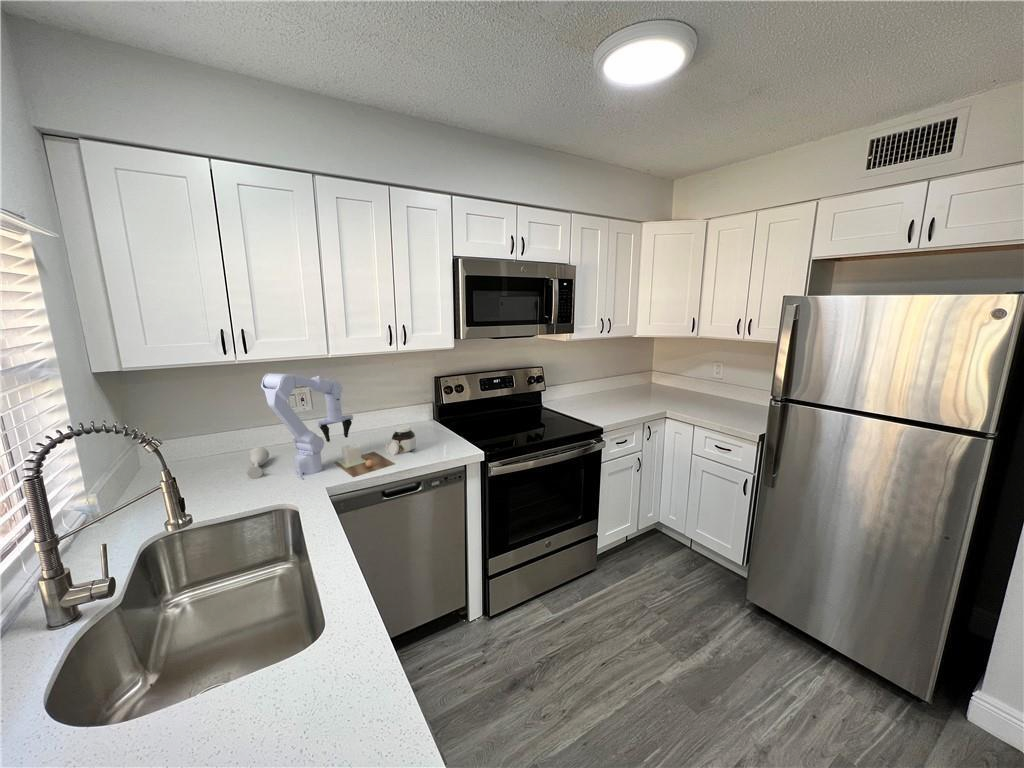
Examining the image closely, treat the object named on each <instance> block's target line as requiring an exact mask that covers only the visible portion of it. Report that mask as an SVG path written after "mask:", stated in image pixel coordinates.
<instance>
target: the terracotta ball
mask: <svg viewBox="0 0 1024 768" xmlns="http://www.w3.org/2000/svg"><path fill="white" fill-rule="evenodd" d="M366 466H367V467H371V466H373V461H372V460H367V461H366Z"/></svg>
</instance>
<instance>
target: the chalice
mask: <svg viewBox="0 0 1024 768" xmlns="http://www.w3.org/2000/svg"><path fill="white" fill-rule="evenodd" d="M269 458H270V452H269V451H268V449H267V448H265V447H260V446H258V447H254V448H253V449H251V450H250V451H249V462H250V463H251V465H252V467H249V468H248V470H247V473H246V474H247V476H248V477H249V479H250V478H251V479H253V480H254V479H259V478H260V477H261V476H262V475H263V469H262V468H261V466H263V465H264V464H265V463H266V462H267V460H268V459H269Z"/></svg>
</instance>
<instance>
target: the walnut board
mask: <svg viewBox="0 0 1024 768" xmlns="http://www.w3.org/2000/svg"><path fill="white" fill-rule="evenodd" d="M361 458H363V459H364V460H366V461H367V460H372V461H373V466H371V467H367V466H366V463H362V464H359V465H356V466H352V467H349V468H345V467H344V466H342V465H341V464H340V463H338V462H337V461H335V462H333V464H334V465H336V466H337V467H338V468H340V469H341V470H343V472H346V473H347V474H348V475H350V476H351V477H352V478H356V477H360V476H362V475H365V474H369V473H371V472H375V471H379V470H381V469H385V468H388V467H392V466H394V465H396V463H395V462H393V461H392V460H390V459H388V458H386V457H385V456H382V455H381V454H379V453H378V452H376V451H371V452H367V453H363V454H361Z"/></svg>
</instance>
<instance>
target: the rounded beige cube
mask: <svg viewBox="0 0 1024 768" xmlns="http://www.w3.org/2000/svg"><path fill="white" fill-rule="evenodd" d="M361 451H362V450H361V446H360V445H358V444H356V443H351V444H348V445H343V446H341V454H342V460H343V462H345V463H346V464H347V465H351V464H355V463H358V462H362V459H361V455H362V452H361Z"/></svg>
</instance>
